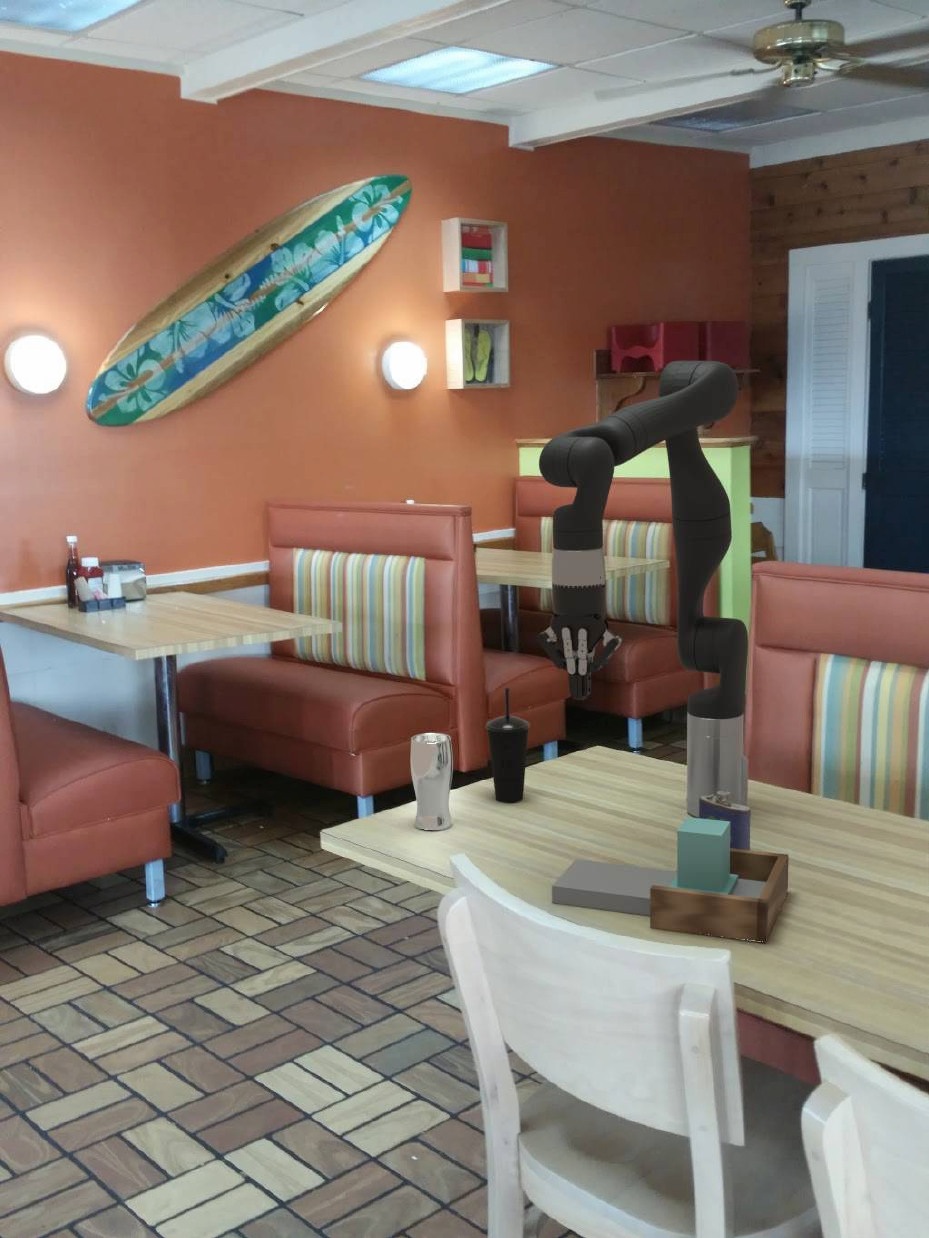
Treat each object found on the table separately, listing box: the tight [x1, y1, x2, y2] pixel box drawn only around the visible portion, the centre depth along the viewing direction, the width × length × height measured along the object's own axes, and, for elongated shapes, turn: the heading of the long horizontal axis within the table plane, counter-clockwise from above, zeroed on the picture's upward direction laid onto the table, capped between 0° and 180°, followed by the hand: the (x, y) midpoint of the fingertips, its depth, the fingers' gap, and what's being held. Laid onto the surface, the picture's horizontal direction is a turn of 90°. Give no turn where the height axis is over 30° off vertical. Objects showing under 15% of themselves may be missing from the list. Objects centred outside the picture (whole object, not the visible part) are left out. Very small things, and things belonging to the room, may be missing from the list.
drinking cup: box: [485, 687, 531, 804], centre depth 225 cm, size 8×8×20 cm
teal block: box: [669, 816, 738, 895], centre depth 177 cm, size 8×8×9 cm
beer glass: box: [410, 732, 454, 831], centre depth 213 cm, size 7×7×15 cm
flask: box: [699, 791, 752, 850], centre depth 195 cm, size 9×3×11 cm, turn 40°
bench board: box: [551, 858, 766, 917], centre depth 180 cm, size 28×11×2 cm, turn 68°
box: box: [649, 848, 789, 943], centre depth 176 cm, size 15×18×6 cm
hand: (580, 698), depth 185 cm, fingers closed
